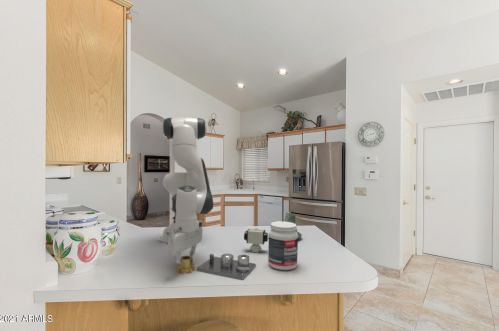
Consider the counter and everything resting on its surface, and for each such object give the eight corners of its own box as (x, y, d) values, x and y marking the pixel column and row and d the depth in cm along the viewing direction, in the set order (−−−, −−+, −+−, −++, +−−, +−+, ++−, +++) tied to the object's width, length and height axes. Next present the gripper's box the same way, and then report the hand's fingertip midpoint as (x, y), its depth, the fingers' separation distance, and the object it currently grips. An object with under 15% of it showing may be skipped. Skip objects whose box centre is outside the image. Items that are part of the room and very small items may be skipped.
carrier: (196, 270, 106) (196, 254, 106) (213, 259, 119) (213, 244, 119) (243, 280, 98) (243, 262, 98) (255, 266, 111) (256, 251, 111)
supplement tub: (291, 274, 104) (292, 229, 104) (263, 267, 110) (263, 225, 110) (301, 263, 115) (302, 223, 115) (275, 258, 122) (275, 219, 121)
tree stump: (262, 236, 158) (268, 208, 160) (289, 241, 165) (295, 214, 167) (275, 244, 141) (282, 212, 143) (305, 249, 148) (311, 218, 150)
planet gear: (173, 271, 104) (173, 259, 104) (184, 265, 111) (184, 253, 111) (188, 274, 102) (188, 262, 102) (198, 267, 108) (198, 256, 108)
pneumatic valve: (266, 254, 126) (267, 230, 126) (243, 252, 129) (243, 228, 128) (267, 250, 132) (268, 227, 132) (245, 248, 134) (246, 225, 134)
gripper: (177, 232, 95) (177, 269, 95) (205, 221, 114) (204, 252, 114) (163, 230, 97) (163, 266, 97) (193, 220, 116) (192, 250, 116)
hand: (185, 258), depth 106 cm, fingers open, 8 cm apart
